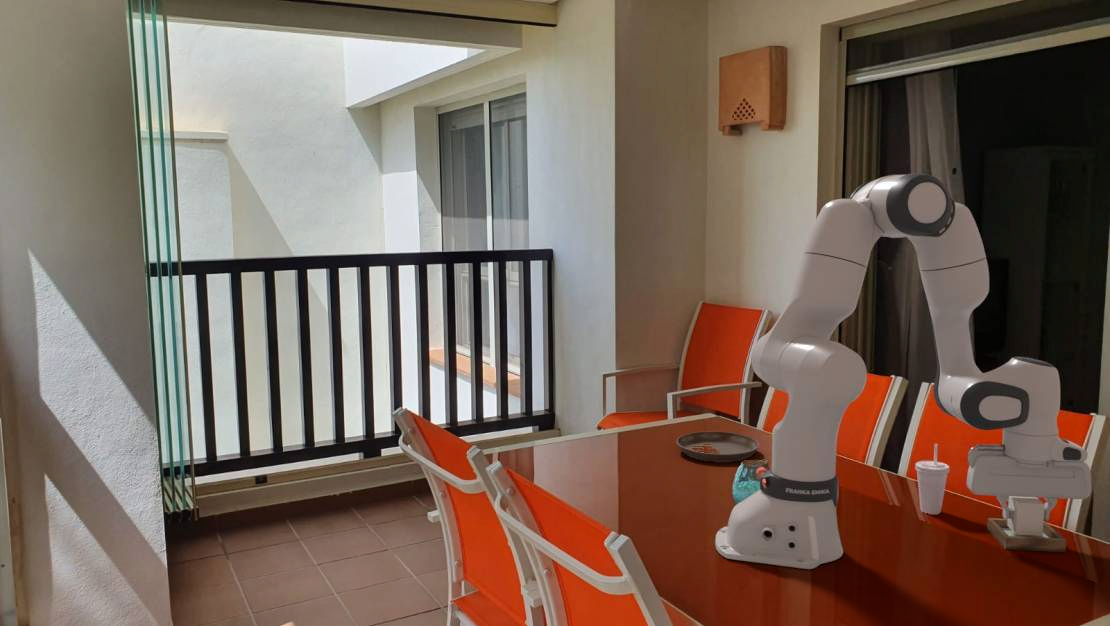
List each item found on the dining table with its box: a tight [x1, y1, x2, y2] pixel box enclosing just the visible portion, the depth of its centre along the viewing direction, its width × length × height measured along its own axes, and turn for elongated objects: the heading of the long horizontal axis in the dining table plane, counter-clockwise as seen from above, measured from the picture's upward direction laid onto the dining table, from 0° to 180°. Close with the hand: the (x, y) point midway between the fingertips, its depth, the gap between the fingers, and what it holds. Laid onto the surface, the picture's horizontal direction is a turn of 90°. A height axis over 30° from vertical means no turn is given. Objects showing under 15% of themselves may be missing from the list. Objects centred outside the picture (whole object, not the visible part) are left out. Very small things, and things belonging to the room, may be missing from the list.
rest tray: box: [986, 517, 1067, 553], centre depth 157 cm, size 10×10×2 cm
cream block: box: [1007, 496, 1045, 536], centre depth 157 cm, size 4×4×6 cm
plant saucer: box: [676, 430, 760, 463], centre depth 218 cm, size 21×21×3 cm
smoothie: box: [914, 443, 950, 515], centre depth 173 cm, size 6×6×14 cm
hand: (1025, 519), depth 157 cm, fingers closed on cream block, 4 cm apart
